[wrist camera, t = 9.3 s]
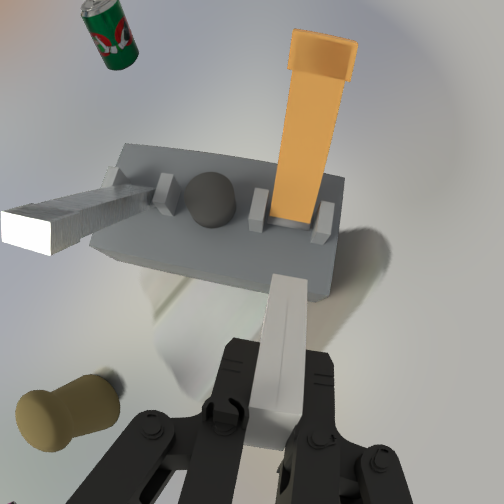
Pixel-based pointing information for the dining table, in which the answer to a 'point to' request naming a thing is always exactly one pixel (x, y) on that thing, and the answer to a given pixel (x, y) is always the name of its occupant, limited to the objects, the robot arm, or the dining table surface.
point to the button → (210, 199)
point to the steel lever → (72, 217)
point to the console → (228, 236)
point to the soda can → (110, 32)
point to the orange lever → (309, 123)
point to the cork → (67, 412)
